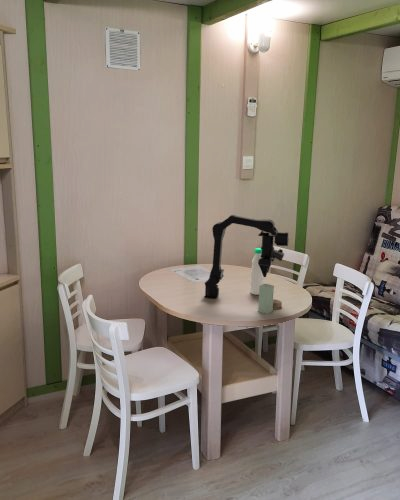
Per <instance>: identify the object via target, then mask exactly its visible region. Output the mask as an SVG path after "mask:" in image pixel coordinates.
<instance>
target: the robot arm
mask: <svg viewBox="0 0 400 500" xmlns="http://www.w3.org/2000/svg"><path fill="white" fill-rule="evenodd" d="M232 224H233V225H234V224H235V225H241V226H245V227H251V228H255V229H258V230H260V233H258V236H259V237H261V239H262V240H261V247H260V248H261V249H262V252H261V257H262V258H260V259H259V260H258V264H259V267H260V269H261V271H262V274H263V276H264V278H267V275H268V274H269V271H270V268H271V266H272V262H274V260H278V261H279V262H282V261H283V258H284V257H285V253H284V252H283V249H281V248H279V249H278V250H277V249H275V246H274V244H275V245H276V246H278V247H289V242H290V238H289V232H280V231H279V230H278V229H277V228H276V224H275V222H274V221H273V220H272V219H263V218H262V219H255V218H249V217H246V216H239V215H236V214H231V215H229V216H228V218H227V217H226V218H225V219H224V220H223V221H219V222H216V223H214V225H213V226H212V230H211V231H212V236H213V239H214V240H213V241H214V242H213V254H212V256H213V257H212V267H211V270H210V273H209V277H208V279H207V280H206V281H205V282H204V286H205V290H204V293H205V294H204V298H207V299H217V298H218V297H219V295H220V288H219V285H218V284H219V283H220V282H221V281H222V280H223V278H224V277H225V275H224V272H225V269H223V268H222V265H221V264H222V253H223V251H222V250H223V240H224V237H225V235H226V230H227V228H228V227H229V226H231V225H232Z"/></svg>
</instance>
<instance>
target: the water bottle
mask: <svg viewBox="0 0 400 500" xmlns="http://www.w3.org/2000/svg"><path fill="white" fill-rule="evenodd" d="M253 252H254V255H253V258H252V259H251V270H250V290H249V291H250V294H252V295H255V296H259V286H260V285H263V284H265V283H264V280H265V279H264V278H265V277H264V276H263V274H262V271H261V269H260V267H259V264H258V260H259V259H260V258H262V257H261V252H262V249H261V247H256V248H255V249H254V251H253Z"/></svg>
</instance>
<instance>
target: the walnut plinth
mask: <svg viewBox="0 0 400 500" xmlns="http://www.w3.org/2000/svg"><path fill="white" fill-rule="evenodd" d="M282 305H283V303H282V301H281V300H279V299H275V298H273V310H280V309H282V308H283V307H282Z"/></svg>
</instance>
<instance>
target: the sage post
mask: <svg viewBox="0 0 400 500" xmlns="http://www.w3.org/2000/svg"><path fill="white" fill-rule="evenodd" d="M274 290H275V286H274V285H273V284H269V283H264V284H263V285H260V286H259V295H258V306H257V307H258V308H257V312H259V313H263V314H267V315H268V314H269V313H272V312H273V310H274V309H273V299H274V293H275V291H274Z"/></svg>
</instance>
